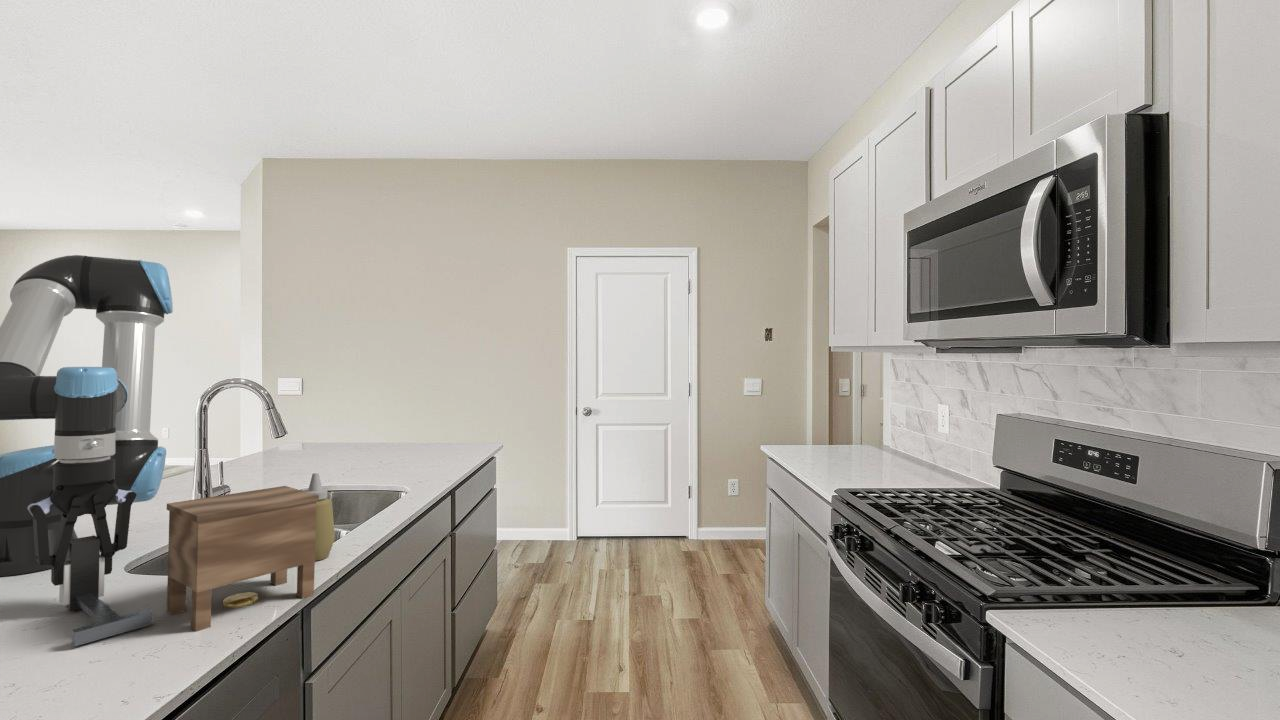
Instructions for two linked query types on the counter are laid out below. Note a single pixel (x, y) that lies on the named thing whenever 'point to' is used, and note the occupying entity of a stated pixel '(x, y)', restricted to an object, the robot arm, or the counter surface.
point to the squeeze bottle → (322, 519)
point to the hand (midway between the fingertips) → (81, 598)
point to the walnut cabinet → (238, 544)
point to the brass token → (240, 600)
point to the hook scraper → (95, 595)
